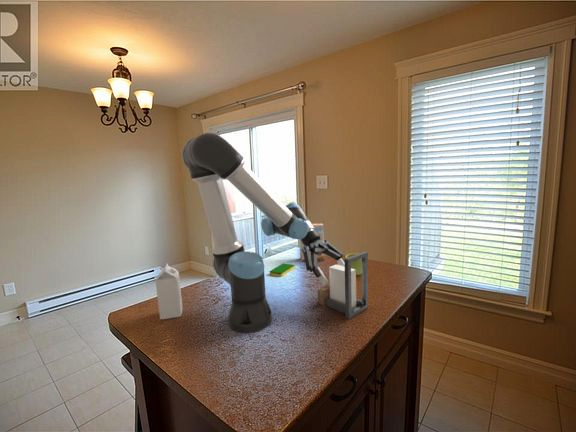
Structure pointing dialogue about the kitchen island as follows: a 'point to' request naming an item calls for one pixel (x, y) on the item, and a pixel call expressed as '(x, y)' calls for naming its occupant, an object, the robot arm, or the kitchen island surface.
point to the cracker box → (321, 232)
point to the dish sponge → (281, 270)
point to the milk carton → (169, 293)
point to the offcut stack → (323, 294)
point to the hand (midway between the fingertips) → (337, 278)
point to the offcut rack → (347, 306)
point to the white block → (341, 284)
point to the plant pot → (356, 265)
